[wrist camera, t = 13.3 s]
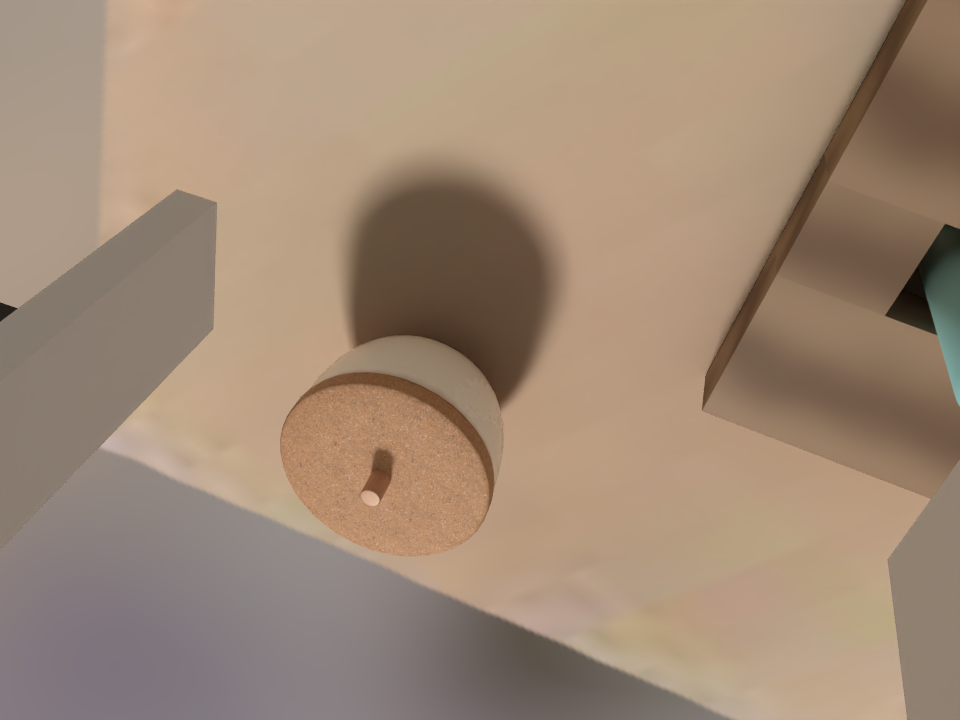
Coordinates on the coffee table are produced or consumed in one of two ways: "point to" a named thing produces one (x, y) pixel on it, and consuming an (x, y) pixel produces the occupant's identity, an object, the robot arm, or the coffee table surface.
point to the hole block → (862, 279)
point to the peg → (945, 296)
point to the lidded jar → (397, 446)
